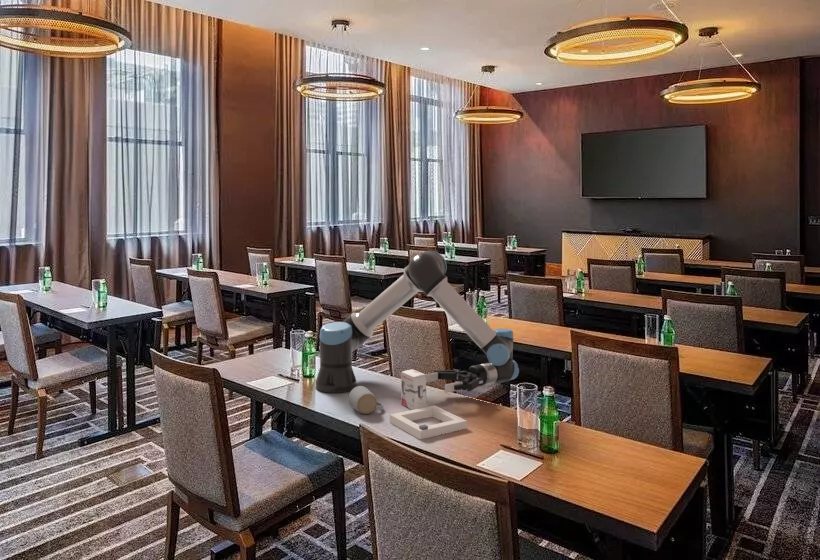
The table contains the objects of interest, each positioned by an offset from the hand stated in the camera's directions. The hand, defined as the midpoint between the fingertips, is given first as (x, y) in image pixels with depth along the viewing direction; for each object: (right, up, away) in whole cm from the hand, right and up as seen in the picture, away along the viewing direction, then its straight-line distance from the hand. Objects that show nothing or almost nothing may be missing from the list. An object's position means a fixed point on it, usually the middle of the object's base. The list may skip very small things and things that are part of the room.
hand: (433, 383), depth 211 cm
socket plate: (-3, -9, -20) cm, 23 cm away
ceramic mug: (-22, -8, -7) cm, 25 cm away
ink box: (-7, -8, -3) cm, 11 cm away
